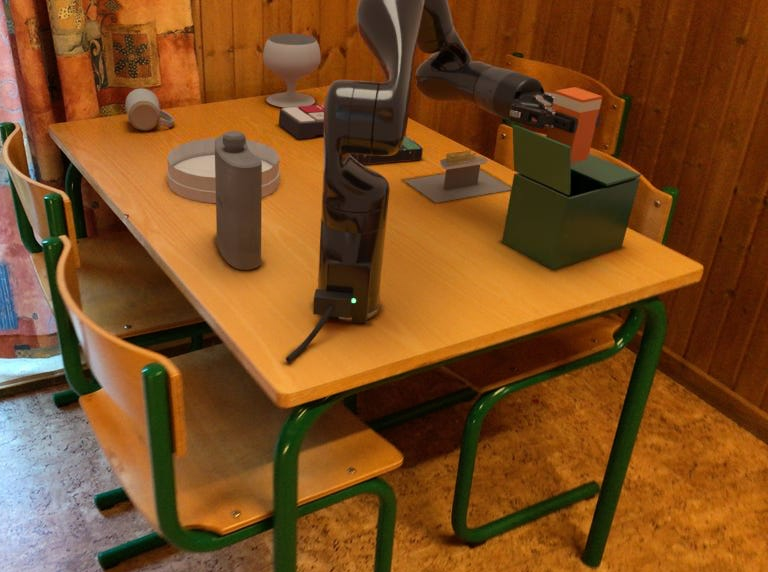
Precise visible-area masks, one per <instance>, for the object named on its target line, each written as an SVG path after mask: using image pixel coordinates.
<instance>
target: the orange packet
mask: <svg viewBox="0 0 768 572" xmlns="http://www.w3.org/2000/svg"><path fill="white" fill-rule="evenodd" d="M554 94H555V95H554V100H553V106H552V109H555V110H557V111H558V113H560V112H561V113H564V114H566V115H569V116H572V117H574V118H577V119H578V121H579V122H578V127H577V131H576V132H574V133H569V132H567V131H564V130H561V129H559V128H556V127H554V128H549V127H547V131H546V135H545V137H547V138H550V139H552V140H555V141H557V142H560V143H562V144H565V145H567V146H570V147H571V163H574V162H578V161H582V160H586V159H588V156H589V154H590V151H591V147H592V143H593V139H594V134H595V129H596V128H595V126H596V121H597V117H598V113H599V112H600V109H601V106H602V105H601V104H602V101H603V95H600V94H597V93H594V92H591V91H589V90H585V89H582V88H580V87H577V86H573V87H568V88H562V89H558V90H555V92H554ZM599 114H600V113H599Z"/></svg>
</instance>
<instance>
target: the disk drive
mask: <svg viewBox="0 0 768 572" xmlns="http://www.w3.org/2000/svg"><path fill="white" fill-rule="evenodd" d="M423 150H424V148H423V147H422V146H421V145H419V143H417V142H416V141H415V140H413V139H412V138H410V137H409V136H408V135H407V133H406V134H405V138H404V141H403V144H402V146H401V148H400V150H399V151H398V152H397V153H396V154H394V155H391V156H374V155H362V154H351V153H350V154H351V155H352V157H353V158H354V159H355V160H357V161H358V162H359V163H360V164H362V165H373V164H384V163H393V162H394V163H395V162H396V163H397V162H409V161H418V160H422V159H423V152H424V151H423Z"/></svg>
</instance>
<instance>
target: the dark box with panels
mask: <svg viewBox="0 0 768 572" xmlns="http://www.w3.org/2000/svg"><path fill="white" fill-rule="evenodd" d="M324 106H325V104H315V105H314V104H312V105H310V106H299V108H296V107H294V108H286V107H281V109H279V117H278V125H279V126H280V127H281V128H282V129H284V130H285V131H287V132H288V133H289V134H290V135H292V136H294V138H296V139H298V140H306V139H307V140H308V139H314V138H316V137H317V136H324Z"/></svg>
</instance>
